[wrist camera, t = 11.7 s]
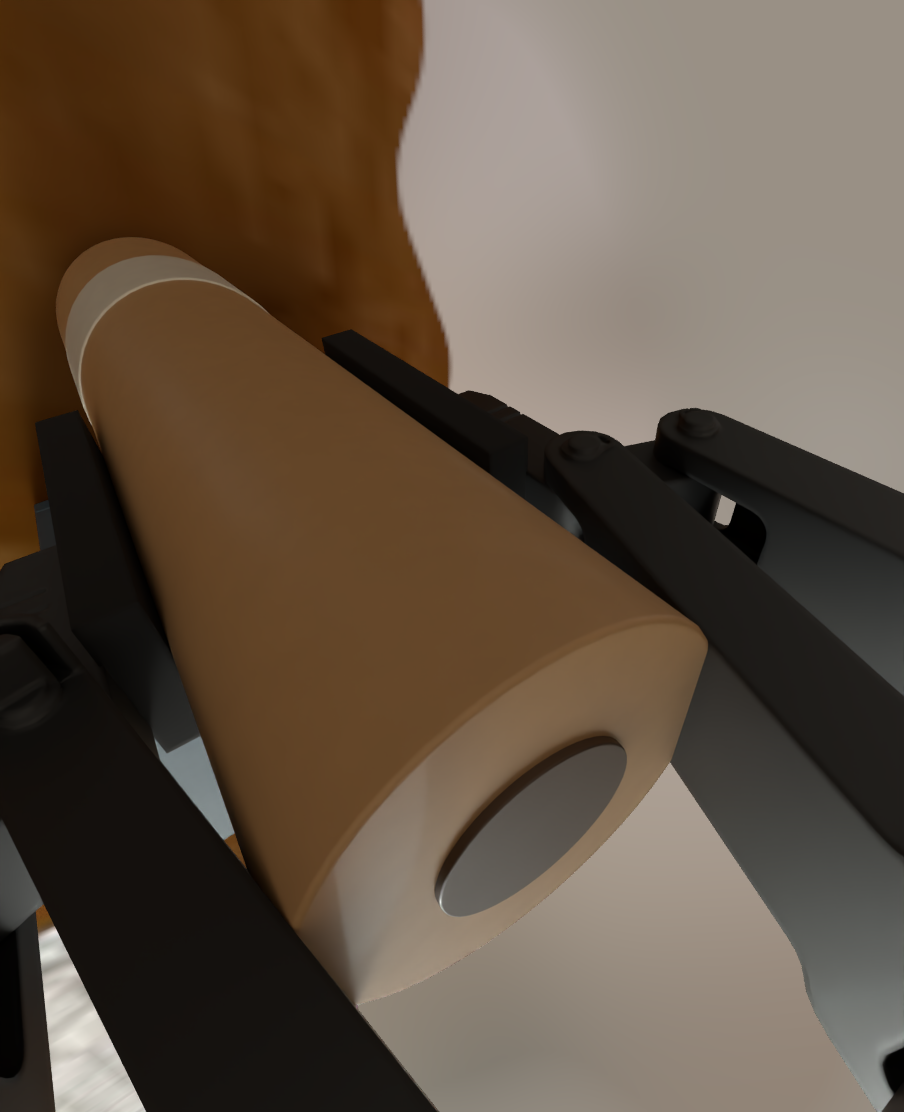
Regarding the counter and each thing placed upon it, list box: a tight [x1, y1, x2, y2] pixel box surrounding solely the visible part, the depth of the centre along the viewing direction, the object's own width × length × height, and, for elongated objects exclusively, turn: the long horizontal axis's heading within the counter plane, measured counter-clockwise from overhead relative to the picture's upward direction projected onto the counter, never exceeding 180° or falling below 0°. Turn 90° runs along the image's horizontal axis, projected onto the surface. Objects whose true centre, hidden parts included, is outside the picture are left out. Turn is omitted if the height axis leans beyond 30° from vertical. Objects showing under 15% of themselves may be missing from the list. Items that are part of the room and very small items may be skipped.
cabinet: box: [34, 500, 234, 840], centre depth 29 cm, size 16×14×10 cm
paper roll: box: [56, 237, 708, 1005], centre depth 12 cm, size 5×5×20 cm
